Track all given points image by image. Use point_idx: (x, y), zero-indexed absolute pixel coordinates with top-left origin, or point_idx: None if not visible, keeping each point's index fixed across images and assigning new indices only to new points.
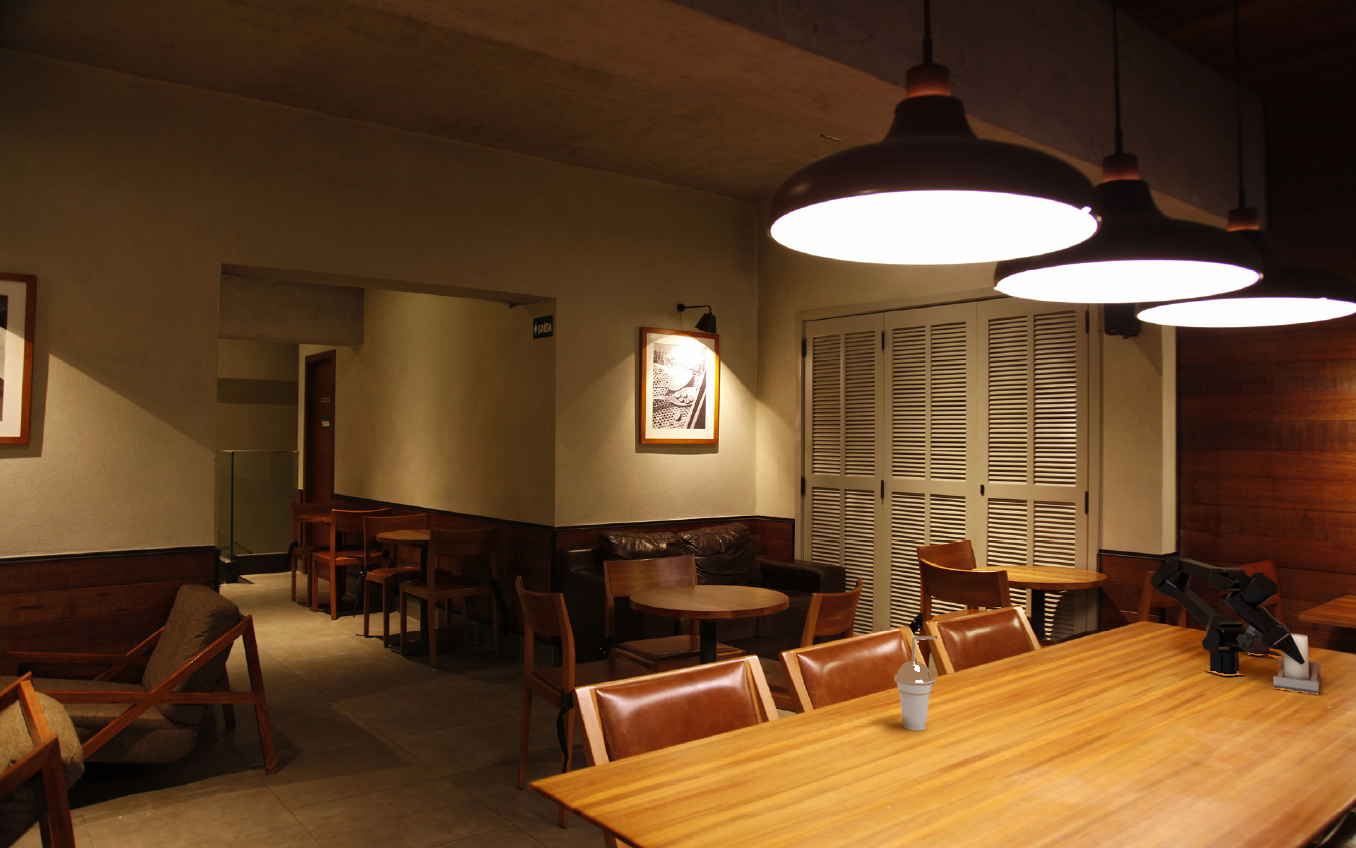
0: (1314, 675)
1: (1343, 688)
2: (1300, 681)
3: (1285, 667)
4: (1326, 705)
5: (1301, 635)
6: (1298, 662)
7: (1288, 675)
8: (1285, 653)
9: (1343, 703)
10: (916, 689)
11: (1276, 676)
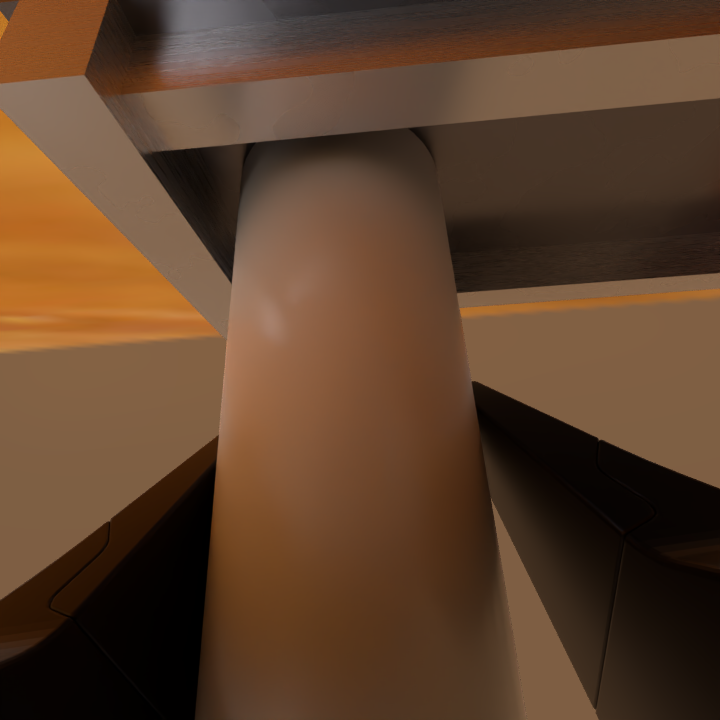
0: (552, 295)
1: (517, 308)
2: (182, 288)
3: (258, 293)
4: (37, 313)
5: None
6: (216, 440)
7: (239, 236)
8: (61, 559)
9: (177, 335)
10: None
11: (85, 120)
